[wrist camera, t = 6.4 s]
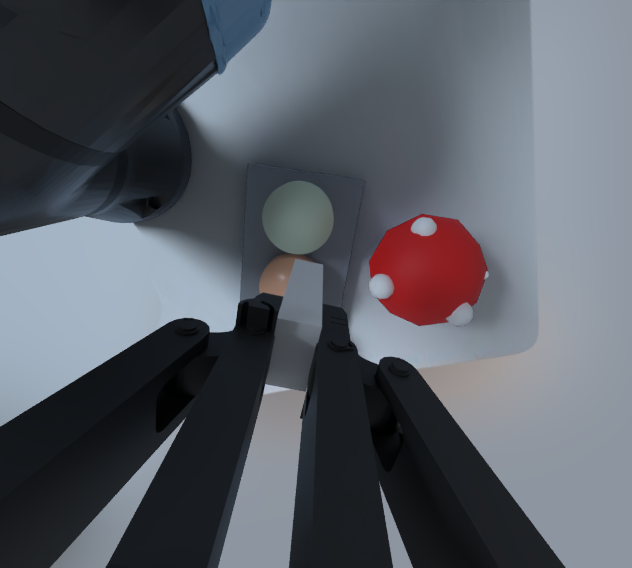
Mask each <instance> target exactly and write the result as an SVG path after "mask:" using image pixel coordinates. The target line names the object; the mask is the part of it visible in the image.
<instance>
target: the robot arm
mask: <svg viewBox="0 0 632 568" xmlns="http://www.w3.org/2000/svg"><path fill="white" fill-rule="evenodd" d="M270 8H271V0H0V236H3V235H7V234H11V233H16V232H20V231H24V230H29V229H33V228H37V227H41V226H45V225H50V224H54V223H58V222H62V221H67V220H70V219H75V218H79V217H83V216H86V217H91V218H96V219H101V220H106V221H111V222H119V223H132V222H139V221H143V220H146V219H149V218H152V217H155V216H158V215H160V214H162V213H164V212H166V211H167V210H168V209H170V208H171V207H172V206H173V205H174V204H175V203H176V202H177V201H178V200H179V198H180V197H181V195H182V194H183V192H184V190H185V188H186V186H187V183H188V180H189V176H190V171H191V148H190V142H189V138H188V134H187V131H186V128H185V126H184V123H183V121H182V119H181V117H180V115H179V113H178V111H177V110H176V107H177V106H178V105H179V104H180V103H182V102H183V101H184V100H185V99H186V98H188V97H189V96H190V95H191V94H192V93H194V92H195V91H196V90H197V89H199V88H200V87H201V86H202V85H203V84H205V83H206V82H207V81H208V80H209V79H211V78H212V77H213V76H214V75H215V74H217V73H218V74H219V75H220V74H222V73H223V72H224V71H225V69H226V64H227V63H228V62H229V61H230V60H231V59H232V58H233V57H234V56H235V55H236V54H237V53H238V52H239V51H240V50H241V49H242V48H243V47H244V46H245V45H246V44H247V43H248V42H249V41H251V40H252V39H253V38H254V37H255V36H256V35H257V34H258V33H259V32H260V31H261V30H262V28H263V27H264V25H265V23H266V21H267V19H268V16H269V13H270ZM322 300H323V264H318V263H313V262H309V261H304V260H299V259H295V261H294V264H293V268H292V271H291V274H290V277H289V281H288V284H287V287H286V291H285V294H284V297H283V296H278V295H274V294H269V293H264V292H263V293H261V294H259V295H257V296H256V297H255V298H252V299H245V300H242V301H241V302H240V303H239V304H238V311H237V318H236V326H235V327H234V329H233V331H229V332H220V333H212V332H210V331H209V326H208V325H207V324H206V323H205V322H203V321H201V320H198V319H194V318H182V319H176V320H174V321H171V322H169V323H167V324H166V325H164V326H163V327H161V328H159V329H158V330H156V331H155V332H153V333H151V334H150V335H148V336H146V337H145V338H143V339H142V340H140V341H138V342H137V343H135V344H133V345H132V346H130V347H129V348H127V349H125V350H124V351H122V352H120V353H119V354H117V355H116V356H114V357H112V358H111V359H109V360H108V361H106V362H104V363H103V364H101V365H99V366H98V367H96V368H95V369H93V370H91V371H90V372H88V373H87V374H85V375H83V376H82V377H80V378H78V379H77V380H75V381H74V382H72V383H70V384H69V385H67V386H66V387H64V388H62V389H61V390H59V391H57V392H56V393H54V394H53V395H51V396H49V397H48V398H46V399H44V400H43V401H41V402H40V403H38V404H36V405H35V406H33V407H32V408H30V409H28V410H27V411H25V412H23V413H22V414H20V415H19V416H17V417H15V418H14V419H12V420H11V421H9V422H7V423H6V424H4V425H2V426H1V427H0V568H50V567H51V565H52V564H53V563H54V562H55V561H56V560H57V559H58V558H59V557H60V556H61V555H62V553H63V552H64V551H65V550H66V549H67V548H68V547H69V546H70V545H71V544H72V542H73V541H74V540H75V539H76V538H77V537H78V536H79V535H80V534H81V532H82V531H83V530H84V529H85V528H86V527H87V526H88V525H89V524H90V522H92V520H93V519H94V518H95V517H96V516H97V515H98V514H99V513H100V511H102V509H103V508H104V507H105V506H106V505H107V504H108V503H109V502H110V501H111V499H112V498H113V497H114V496H115V495H116V494H117V493H118V492H119V491H120V490H121V488H122V487H123V486H124V485H125V484H126V483H127V482H128V481H129V480H130V479H131V477H132V476H133V475H134V474H135V473H136V472H137V471H138V470H139V469H140V468H141V466H142V465H143V464H144V463H145V462H146V461H147V460H148V459H149V458H150V456H151V455H152V454H153V453H154V452H155V451H156V450H157V449H158V448H159V447H160V445H161V444H162V443H163V442H164V441H165V440H166V439H167V438H168V436H169V435H170V434H171V433H172V432H173V431H174V430H175V429H176V428H177V427H178V426H179V425H180V423H181V422H182V421H183V420H184V419H185V418H186V419H185V421H184V423H183V424H182V427H181V428H180V430H179V432H178V434H177V436H176V438H175V440H174V441H173V443H172V445H171V447H170V449H169V451H168V453H167V455H166V456H165V458H164V460H163V462H162V464H161V466H160V467H159V469H158V471H157V473H156V475H155V477H154V479H153V480H152V482H151V484H150V486H149V488H148V490H147V492H146V494H145V495H144V497H143V499H142V501H141V503H140V505H139V507H138V508H137V510H136V512H135V514H134V516H133V518H132V520H131V522H130V524H129V525H128V527H127V529H126V531H125V533H124V535H123V537H122V538H121V541H120V542H119V544H118V546H117V548H116V550H115V551H114V553H113V555H112V557H111V559H110V561H109V563H108V564H107V566H106V568H218V565H219V561H220V557H221V553H222V550H223V546H224V542H225V538H226V534H227V530H228V526H229V523H230V519H231V515H232V511H233V507H234V504H235V500H236V496H237V492H238V488H239V484H240V481H241V477H242V473H243V469H244V465H245V461H246V458H247V454H248V450H249V446H250V442H251V439H252V435H253V431H254V427H255V423H256V419H257V416H258V411H259V408H260V404H261V400H262V396H263V392H264V387H265V384H268V385H274V386H279V387H284V388H289V389H295V390H300V391H306V388H307V392H306V397H305V400H304V404H303V409H302V412H301V416H300V418H301V419H303V421H302V432H301V442H300V453H299V464H298V475H297V486H296V497H295V508H294V519H293V530H292V540H291V552H290V562H289V568H393V564H392V558H391V552H390V547H389V540H388V534H387V528H386V522H385V515H384V510H383V503H382V498H381V491H380V485H381V487H382V490H383V492H384V495H385V498H386V500H387V503H388V505H389V508H390V510H391V513H392V515H393V518H394V520H395V522H396V525H397V528H398V531H399V533H400V535H401V538H402V541H403V543H404V546H405V548H406V551H407V553H408V556H409V558H410V561H411V564H412V566H413V568H565V566H564V565H563V564H562V563H561V561H560V560H559V559H558V557H557V556H556V554H555V553H554V552H553V550H552V549H551V548H550V546H549V545H548V544H547V542H546V541H545V540H544V538H543V537H542V536H541V534H540V533H539V532H538V531H537V529H536V528H535V526H534V525H533V524H532V522H531V521H530V520H529V518H528V517H527V516H526V515H525V513H524V512H523V511H522V509H521V508H520V507H519V505H518V504H517V503H516V501H515V500H514V499H513V497H512V496H511V495H510V493H509V492H508V491H507V489H506V488H505V487H504V486H503V484H502V483H501V481H500V480H499V479H498V477H497V476H496V475H495V473H494V472H493V471H492V469H491V468H490V467H489V465H488V464H487V463H486V461H485V460H484V459H483V457H482V456H481V455H480V453H479V452H478V451H477V450H476V448H475V447H474V446H473V444H472V443H471V441H470V440H469V439H468V437H467V436H466V435H465V433H464V432H463V431H462V429H461V428H460V427H459V425H458V424H457V423H456V421H455V420H454V419H453V418H452V416H451V415H450V413H449V412H448V411H447V409H446V408H445V407H444V406H443V404H442V403H441V401H440V400H439V399H438V397H437V396H436V395H435V393H434V392H433V391H432V390H431V388H430V387H429V385H428V384H427V383H426V381H425V380H424V379H423V377H422V376H421V375H420V374H419V372H418V371H417V370H416V369H415V368H414V367H413V366H412V365H411V364H410V363H408V362H406V361H405V360H403V359H400V358H395V357H384V358H382V359H381V360H380V362H379V365H378V364H375V363H373V362H370V361H368V360H366V359H364V358H362V357H360V356H359V355H358V351H357V348H356V346H355V344H354V343H353V342H352V341H350V334H349V327H348V321H347V314H346V312H345V311H344V310H343V309H342V308H341V307H336V306H331V305H327V304H322ZM307 384H308V386H307ZM379 482H380V485H379Z"/></svg>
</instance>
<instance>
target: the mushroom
mask: <svg viewBox="0 0 632 568" xmlns="http://www.w3.org/2000/svg"><path fill="white" fill-rule="evenodd" d="M369 266H370V275H371V280H370V283H369V291H370V293H371V294H372V295H373V296H374V297H376V298H377V299H378V300H379V301H380V302H381V303H382V304H383V305H384V306H385V308H386V309H387V310H388V311H389V312H390V313H392V314H394V315H396V316H398V317H401V318H403V319H405V320H407V321H409V322H412V323H414V324H416V325H418V326H423V325H431V324H438V323H446V322H449V323H450V324H453V325H455V326H464V325H466V324H468V323H469V322H470V321H471V320H472V317H473V315H474V313H473V309H472V307H471V306H473V305H474V304H475V303H477V300H478V298H479V295H480V292H481V289H482V287H483V284H484V281H485V280H486V279H487V278H488V277H489V272H488V269H487V266H486V263H485V260H484V257H483V254H482V251H481V248H480V245H479V244H478V243H477V242H476V240H475V239H474V238H473V237H472V236H471V234H470V233H469V232H468V231H467V230H466V229H465V227H464V226H463V225H462V224H461V223H460V221H459V220H456V219H450V218H444V217H438V216H431V215H425V214H421V215H419V216H417V217H415V218H413V219H411V220H408V221H406V222H404V223H402V224H400V225H398V226H396V227H394V228H392V229H390V230H388V231H387V232H386V234H385V236H384V237H383V239H382V241H381V242H380V244H379V246H378V247H377V249H376V251H375V252H374V254H373V256H372V257H371V259H370V261H369Z"/></svg>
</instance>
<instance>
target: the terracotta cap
mask: <svg viewBox="0 0 632 568" xmlns="http://www.w3.org/2000/svg"><path fill="white" fill-rule="evenodd" d="M295 259H299V260H304V261H309V262H313V263H315V262H314V261H312V260H311V259H310V258H309V257H307V256H305V255H302V254H291V253H284V254H280V255H278V256H276V257H275V258H273V259H272V260H271V261H270V262H269V263H268V265H267V266H266V268H265V270H264V271H263V273H262V275H261V278H260V282H259V291H260V294H261V293H263V292H264V293H269V294H274V295H278V296H283V297H284V294H285V291H286V287H287V284H288V281H289V277H290V274H291V271H292V268H293V264H294V261H295Z"/></svg>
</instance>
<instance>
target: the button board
mask: <svg viewBox="0 0 632 568" xmlns="http://www.w3.org/2000/svg"><path fill="white" fill-rule="evenodd" d="M292 181H306V182H310V183H312V184H314V185H316V186H318V187H319V188H321V189H322V190H323V191H324V192H325V194H326V195H327V196H328V198H329V200H330V202H331V205H332V208H333V215H334V223H333V229H332V232H331V234H330V236H329V238H328V239H327V241H326V242H325V243H324V244H323V245H322V246H321V247H320V248H318V249H317V250H315V251H313V252H310V253H307V254H302V255H305V256H307V257H309V258H310V259H311V260H312V261H314V262H315V263H318V264H323V300H322V304H327V305H331V306H336V307H341V303H342V298H343V293H344V288H345V282H346V277H347V272H348V267H349V261H350V256H351V251H352V246H353V240H354V235H355V230H356V225H357V219H358V214H359V209H360V204H361V199H362V193H363V188H364V183H365V181H363V180H359V179H352V178H345V177H339V176H332V175H326V174H319V173H313V172H306V171H300V170H293V169H286V168H280V167H273V166H267V165H260V164H254V163H248V169H247V187H246V204H245V222H244V239H243V257H242V274H241V292H240V302H241V301H242V300H245V299H252V298H255V297H256V296H257V295H259V294H260V291H259V282H260V278H261V275H262V273H263V271H264V270H265V268H266V266H267V265H268V263H269V262H270V261H271V260H272V259H273V258H275V257H276V256H278V255H280V254H284V253H288V252H285V251H283V250H281V249H279V248H278V247H276V246H275V245H274V244H273V243H272V242H271V241H270V239H269V238H268V236H267V235H266V233H265V230H264V227H263V222H262V212H263V208H264V204H265V202H266V200H267V198H268V197H269V196H270V194H271V193H272V192H273V191H274V190H275V189H277V188H278V187H280V186H282V185H284V184H286V183H288V182H292Z"/></svg>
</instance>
